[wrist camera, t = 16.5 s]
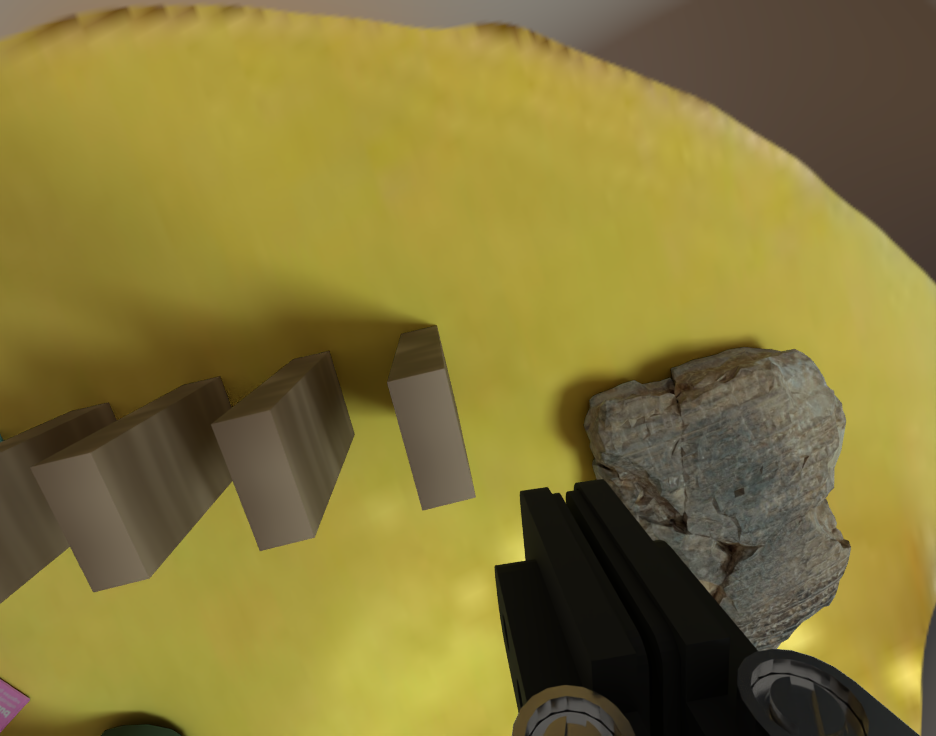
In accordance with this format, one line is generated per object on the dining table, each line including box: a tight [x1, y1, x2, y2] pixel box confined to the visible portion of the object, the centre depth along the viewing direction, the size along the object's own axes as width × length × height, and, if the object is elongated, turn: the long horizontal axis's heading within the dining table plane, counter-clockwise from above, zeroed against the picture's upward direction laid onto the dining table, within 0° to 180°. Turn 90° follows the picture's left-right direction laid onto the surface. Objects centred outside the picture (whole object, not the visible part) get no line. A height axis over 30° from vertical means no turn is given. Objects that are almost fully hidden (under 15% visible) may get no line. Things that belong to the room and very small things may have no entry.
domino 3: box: [211, 351, 355, 551], centre depth 21 cm, size 2×5×10 cm, turn 13°
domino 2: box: [30, 376, 233, 592], centre depth 21 cm, size 2×5×10 cm, turn 12°
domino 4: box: [387, 326, 476, 510], centre depth 21 cm, size 2×5×10 cm, turn 13°
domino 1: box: [0, 402, 117, 603], centre depth 21 cm, size 2×5×10 cm, turn 12°
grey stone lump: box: [584, 347, 851, 651], centre depth 28 cm, size 14×5×20 cm
